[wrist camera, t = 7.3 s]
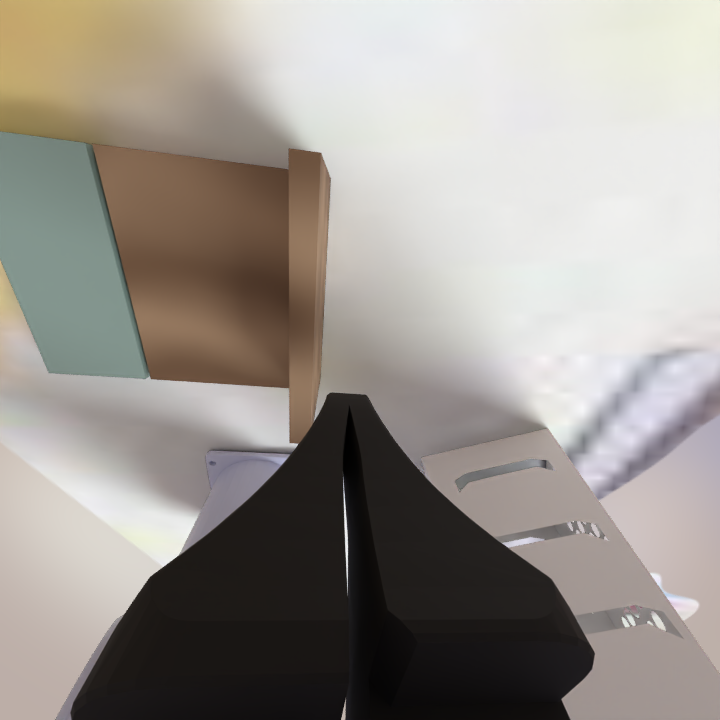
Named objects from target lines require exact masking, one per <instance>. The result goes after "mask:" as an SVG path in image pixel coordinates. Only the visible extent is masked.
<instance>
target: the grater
mask: <svg viewBox="0 0 720 720" xmlns="http://www.w3.org/2000/svg"><path fill="white" fill-rule="evenodd" d="M528 459H539V460H546V469H544V468H540V467H533V468H528V469H524V470H519V471H515V472H510V473H506V474H501V475H497V476H493V477H489V478H485V479H481V480H477V481H473V482H469V483H467V485H466V486H465V487H464V488H463V489H462V490H461V491H460V493H459V490H458V488H457V485H456V483H455V480H457V479H458V478H460V477H461V476H463V475H464V474H465V473H470V472H474V471H479V470H483V469H488V468H492V467H497V466H501V465H506V464H510V463H515V462H519V461H524V460H528ZM421 460H422V464H423V468H424V473H425V477H426V478H427V479H428V480H429V481H430V482H431V483H432V484H433V485H434V486H435V487H436V488H437V489H438V490H439V491H440V492H441V493H442V494H443V495H444V496H445V497H447V498H448V499H449V500H450V501H451V502H452V503H453V504H454V505H455V506H456V507H458V508H459V509H460V510H461V511H462V512H463V513H464V514H466V515H467V516H468V517H469V518H470V519H471V520H473V521H474V522H475V523H476V524H478V525H479V526H480V527H481V528H483V529H484V530H485V531H487V532H488V533H489V534H490V535H492V536H493V537H494V538H495V539H497V540H498V541H499V542H501V543H504V542H509V541H514V540H519V539H524V538H529V537H533V538H540V539H544V541H539V542H534V543H529V544H524V545H519V546H514V547H509V549H510V550H512V551H513V552H515V553H516V554H517V555H519V556H520V557H522V558H523V559H524V560H526V561H527V562H529V563H530V564H532V565H533V566H534V567H536V568H537V569H539V570H540V571H541V572H543V573H544V574H546V575H547V576H548V577H550V578H551V579H552V580H553V582H554V583H555V585H556V587H557V588H558V590H559V591H560V593H561V594H562V596H563V597H564V599H565V601H566V602H567V604H568V605H569V607H570V609H571V611H572V612H573V614H574V616H575V618H576V620H577V622H578V623H579V625H580V627H581V629H582V631H583V632H584V634H585V636H586V638H587V640H588V641H589V643H590V645H591V647H592V649H593V650H594V652H595V657H594V663H593V668H592V670H591V671H590V673H589V674H588V675H587V676H586V677H585V678H584V679H583V680H582V681H581V682H580V683H579V684H578V685H577V686H576V687H574V688H573V689H572V690H571V691H570V692H569V693H568V694H567V695H565V696H564V697H563V698H562V699H561V700H562V702H563V704H564V706H565V709H566V711H567V713H568V715H569V717H570V720H720V673H719V672H718V670H717V669H716V667H715V666H714V665H713V663H712V662H711V660H710V659H709V657H708V656H707V655H706V653H705V652H704V650H703V649H702V648H701V646H700V645H699V643H698V642H697V640H696V639H695V637H694V636H693V635H692V633H691V632H690V630H689V629H688V627H687V626H686V625H685V623H684V622H683V620H682V619H681V617H680V616H679V615H678V613H677V612H676V610H675V609H674V607H673V606H672V605H671V603H670V602H669V600H668V599H667V598H666V596H665V595H664V593H663V592H662V590H661V589H660V588H659V586H658V585H657V583H656V582H655V580H654V579H653V578H652V576H651V575H650V573H649V572H648V570H647V569H646V568H645V566H644V565H643V563H642V562H641V560H640V559H639V558H638V556H637V555H636V553H635V552H634V551H633V549H632V548H631V546H630V545H629V543H628V542H627V541H626V539H625V538H624V536H623V535H622V533H621V532H620V531H619V529H618V528H617V527H616V525H615V523H614V522H613V520H612V519H611V518H610V516H609V515H608V514H607V512H606V511H605V509H604V508H603V506H602V505H601V503H600V502H599V501H598V499H597V498H596V496H595V495H594V493H593V492H592V491H591V489H590V488H589V486H588V485H587V483H586V482H585V481H584V479H583V478H582V476H581V475H580V473H579V472H578V471H577V469H576V468H575V466H574V465H573V463H572V462H571V461H570V459H569V458H568V456H567V455H566V453H565V452H564V451H563V449H562V448H561V446H560V445H559V443H558V442H557V441H556V439H555V438H554V436H553V435H552V433H551V432H550V431H549V429H548V428H547V429H543V430H538V431H534V432H529V433H525V434H521V435H516V436H512V437H508V438H503V439H499V440H495V441H490V442H486V443H481V444H477V445H473V446H468V447H464V448H460V449H455V450H451V451H447V452H442V453H438V454H433V455H429V456H425V457H421ZM553 468H554V469H555V470H556V471H553ZM572 521H574V523H573V522H572ZM577 521H580V522H581V524H582V525H583V527H584V530H585V533H582V532H581V531H580V529H579V527H578V524H577ZM567 522H571V524H572V527H573V531H571V530H570V528H569V526H568V524H567ZM583 522H586V525H585V524H583ZM591 523H593V524H595V525H596V527H597V528H598V530H599V533H600V537H597V536H596V535H595V533H594V532H593V530H592V527H591ZM576 530H578V531H579V532H580V533H579V534H576ZM590 532H591V533H592V534H593V535H594V536H592V535H589V533H590ZM604 536H606V537H607V539H608V540H609V541H607V540H604ZM632 605H635V607H636V608H637V610H638V613H639V618H637V617H636V616H635V615H634V614H633V613H632V611H631V609H630V607H629V606H632ZM638 606H641V607H643V608H642V609H641V608H640V607H638ZM624 608H626V609H628V611H629V612H630V613H631V615H632V617H633V619H634V621H635V624H636V626H632V625H631V623H630V622H629V620H628V618H627V617H626V614H625V611H624ZM651 611H654V612H655V613H656V614H657V615H658V616H659V617H660V619H661V620H662V622H663V624H664V626H665V629H666V631H664V630H662V629H659V628H658V627H657V625H656V624H655V622H654V620H653V618H652V615H651ZM622 616H623V617H624V618H625V619H626V620H627V622H628V623H629V625H630V627H626V628H625V626H624V624H623V622H622ZM647 621H650V622H651V623H652V624H653V625H654V626H652V625H650V624H647Z"/></svg>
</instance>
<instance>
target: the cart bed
mask: <svg viewBox="0 0 720 720" xmlns="http://www.w3.org/2000/svg"><path fill="white" fill-rule="evenodd" d="M92 145H93V149H94V153H95V157H96V161H97V165H98V169H99V173H100V177H101V181H102V185H103V189H104V193H105V197H106V201H107V205H108V209H109V213H110V217H111V221H112V225H113V229H114V233H115V237H116V241H117V245H118V249H119V253H120V257H121V261H122V265H123V269H124V273H125V277H126V281H127V285H128V289H129V293H130V297H131V301H132V305H133V309H134V313H135V317H136V321H137V325H138V329H139V333H140V337H141V341H142V345H143V349H144V353H145V357H146V361H147V365H148V369H149V373H150V377H151V379H157V380H173V381H188V382H203V383H218V384H234V385H249V386H264V387H280V388H289V410H290V443H300V442H301V440H302V439H303V438H304V436H305V435H306V433H307V432H308V431H309V429H310V428H311V426H312V424H313V422H314V415H315V409H316V403H317V396H318V390H319V384H320V375H321V356H322V337H323V317H324V298H325V279H326V259H327V240H328V221H329V201H330V182H331V178H330V176H329V173H328V170H327V168H326V165H325V162H324V160H323V157H322V154H321V153H318V152H311V151H304V150H296V149H289V170H288V169H281V168H273V167H266V166H258V165H250V164H243V163H235V162H228V161H220V160H212V159H205V158H197V157H190V156H182V155H174V154H167V153H159V152H152V151H144V150H136V149H129V148H121V147H113V146H106V145H98V144H92Z"/></svg>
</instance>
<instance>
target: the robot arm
mask: <svg viewBox="0 0 720 720" xmlns="http://www.w3.org/2000/svg"><path fill="white" fill-rule="evenodd" d="M205 459H206V465H207V470H208V476H209V481H210V487H211V492H210V494H209V496H208V498H207V500H206V502H205V504H204V506H203V508H202V510H201V512H200V514H199V516H198V518H197V520H196V522H195V524H194V526H193V528H192V530H191V532H190V534H189V536H188V538H187V540H186V542H185V544H184V546H183V548H182V550H181V552H180V554H179V556H177V557H176V558H175V559H173V560H172V561H171V562H170V563H168V564H167V565H166V566H164V567H163V568H162V569H160V570H159V571H158V572H156V573H155V574H153V575H152V576H151V577H150V578H149V579H148V581H147V582H146V583H145V585H144V586H143V588H142V589H141V591H140V592H139V593H138V595H137V597H136V598H135V600H134V601H133V602H132V604H131V605H130V607H129V608H128V610H127V611H126V613H125V614H124V615H122V616H121V617H119V618H117V619H116V620H115V621H114V623H113V624H112V625H111V627H110V628H109V630H108V631H107V633H106V634H105V636H104V637H103V639H102V640H101V642H100V643H99V645H98V646H97V648H96V650H95V651H94V653H93V655H92V656H91V658H90V659H89V661H88V663H87V664H86V666H85V668H84V670H83V671H82V673H81V675H80V677H79V678H78V680H77V682H76V683H75V685H74V687H73V689H72V690H71V692H70V694H69V696H68V698H67V699H66V701H65V703H64V705H63V706H62V708H61V710H60V712H59V714H58V716H57V717H56V719H55V720H341V717H342V713H343V708H344V703H345V699H346V719H345V720H570V717H569V715H568V713H567V711H566V709H565V706H564V704H563V702H562V700H561V699H562V698H563V697H564V696H565V695H567V694H568V693H569V692H570V691H571V690H572V689H573V688H574V687H576V686H577V685H578V684H579V683H580V682H581V681H582V680H583V679H584V678H585V677H586V676H587V675H588V674H589V673H590V671H591V670H592V668H593V663H594V657H595V652H594V650H593V649H592V647H591V645H590V643H589V641H588V640H587V638H586V636H585V634H584V632H583V631H582V629H581V627H580V625H579V623H578V622H577V620H576V618H575V616H574V614H573V612H572V611H571V609H570V607H569V605H568V604H567V602H566V601H565V599H564V597H563V596H562V594H561V593H560V591H559V590H558V588H557V587H556V585H555V583H554V582H553V580H552V579H551V578H550V577H548V576H547V575H546V574H544V573H543V572H541V571H540V570H539V569H537V568H536V567H534V566H533V565H532V564H530V563H529V562H527V561H526V560H524V559H523V558H522V557H520V556H519V555H517V554H516V553H515V552H513V551H512V550H510V549H509V548H508V547H506V546H505V545H503V544H502V543H501V542H499V541H498V540H497V539H495V538H494V537H493V536H492V535H490V534H489V533H488V532H487V531H485V530H484V529H483V528H481V527H480V526H479V525H478V524H476V523H475V522H474V521H473V520H471V519H470V518H469V517H468V516H467V515H466V514H464V513H463V512H462V511H461V510H460V509H459V508H458V507H456V506H455V505H454V504H453V503H452V502H451V501H450V500H449V499H448V498H447V497H445V496H444V495H443V494H442V493H441V492H440V491H439V490H438V489H437V488H436V487H435V486H434V485H433V484H432V483H431V482H430V481H429V480H428V479H427V478H426V477H425V476H424V475H423V474H422V473H421V472H420V471H419V470H418V468H417V467H416V466H415V465H414V464H413V463H412V462H411V460H410V459H409V458H408V457H407V455H406V454H405V453H404V452H403V450H402V449H401V448H400V447H399V445H398V444H397V443H396V441H395V440H394V439H393V437H392V436H391V434H390V433H389V431H388V430H387V428H386V427H385V425H384V424H383V422H382V421H381V419H380V418H379V416H378V414H377V413H376V411H375V409H374V407H373V406H372V404H371V402H370V400H369V398H368V397H367V396H366V395H361V394H345V393H329V394H328V395H327V397H326V400H325V403H324V405H323V407H322V409H321V411H320V413H319V415H318V416H317V418H316V420H315V421H314V423H313V424H312V426H311V428H310V429H309V431H308V432H307V433H306V435H305V436H304V438H303V439H302V440H301V442H300V443H299V444H298V446H297V447H296V448H295V450H294V451H293V452H292V453H291V454H275V453H253V452H231V451H209V452H208V453H207V455H206V456H205ZM213 461H214V462H213ZM343 477H344V491H345V504H346V517H347V530H348V595H347V576H346V555H345V530H344V497H343Z"/></svg>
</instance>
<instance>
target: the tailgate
mask: <svg viewBox="0 0 720 720" xmlns="http://www.w3.org/2000/svg"><path fill="white" fill-rule="evenodd" d="M0 260H1V262H2V265H3V267H4V269H5V272H6V274H7V276H8V279H9V281H10V283H11V286H12V288H13V290H14V293H15V295H16V297H17V300H18V302H19V304H20V307H21V309H22V311H23V314H24V316H25V318H26V321H27V323H28V325H29V328H30V330H31V332H32V335H33V337H34V339H35V342H36V344H37V346H38V349H39V351H40V353H41V356H42V358H43V360H44V363H45V365H46V367H47V370H48V372H49V373H56V374H73V375H90V376H107V377H124V378H142V379H146V378H148V377H149V376H150V373H149V369H148V365H147V361H146V357H145V353H144V349H143V345H142V341H141V337H140V333H139V329H138V325H137V321H136V317H135V313H134V309H133V305H132V301H131V297H130V293H129V289H128V285H127V281H126V277H125V273H124V269H123V265H122V261H121V257H120V253H119V249H118V245H117V241H116V237H115V233H114V229H113V225H112V221H111V217H110V213H109V209H108V205H107V201H106V197H105V193H104V189H103V185H102V181H101V177H100V173H99V169H98V165H97V161H96V157H95V153H94V149H93V145H91V144H87V143H83V142H76V141H68V140H61V139H53V138H46V137H38V136H30V135H23V134H15V133H8V132H0Z"/></svg>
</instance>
